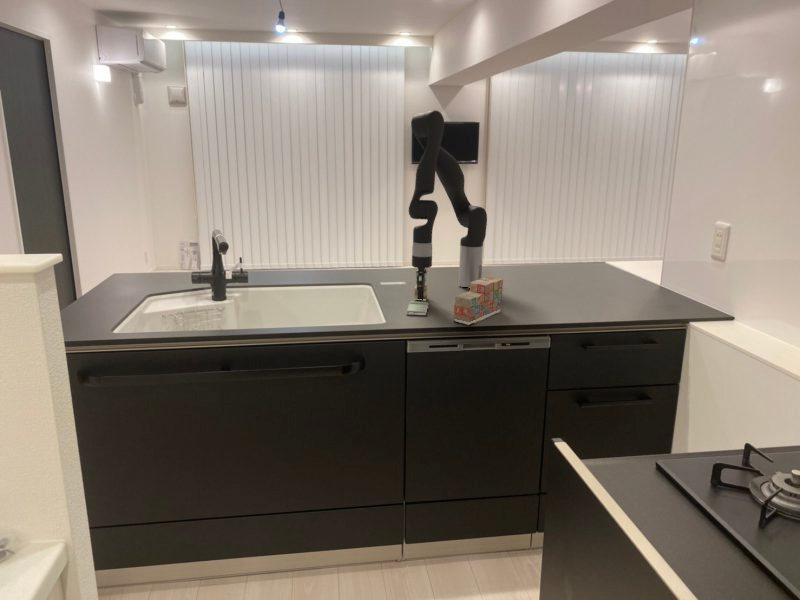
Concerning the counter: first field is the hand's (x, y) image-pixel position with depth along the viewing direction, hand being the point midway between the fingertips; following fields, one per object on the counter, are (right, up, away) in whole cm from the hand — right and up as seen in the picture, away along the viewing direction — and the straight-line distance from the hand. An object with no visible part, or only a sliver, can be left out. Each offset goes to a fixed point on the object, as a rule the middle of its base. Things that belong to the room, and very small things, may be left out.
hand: (420, 298), depth 224 cm
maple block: (0, -1, 0) cm, 1 cm away
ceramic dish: (-2, -5, -14) cm, 15 cm away
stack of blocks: (+19, -7, -21) cm, 29 cm away
